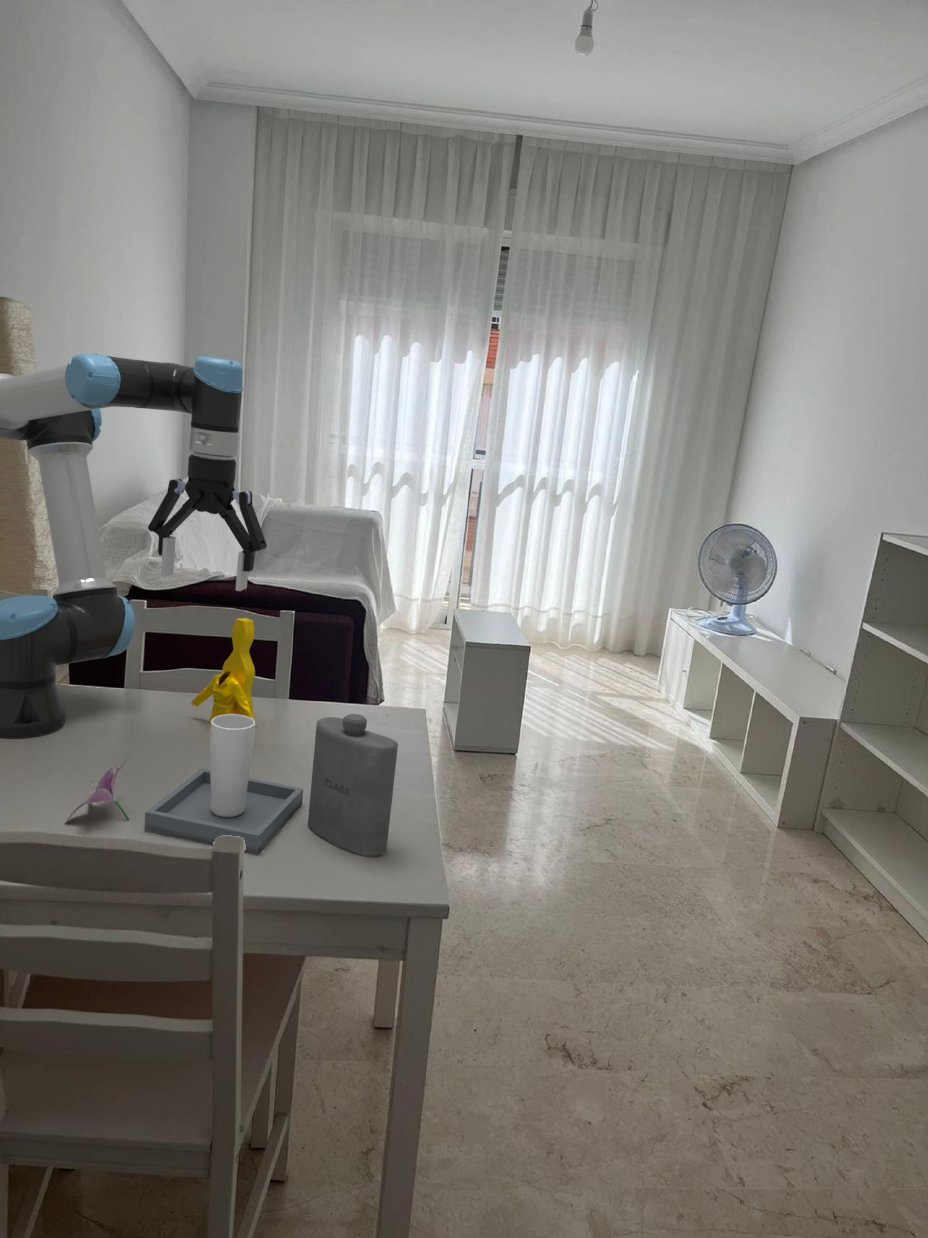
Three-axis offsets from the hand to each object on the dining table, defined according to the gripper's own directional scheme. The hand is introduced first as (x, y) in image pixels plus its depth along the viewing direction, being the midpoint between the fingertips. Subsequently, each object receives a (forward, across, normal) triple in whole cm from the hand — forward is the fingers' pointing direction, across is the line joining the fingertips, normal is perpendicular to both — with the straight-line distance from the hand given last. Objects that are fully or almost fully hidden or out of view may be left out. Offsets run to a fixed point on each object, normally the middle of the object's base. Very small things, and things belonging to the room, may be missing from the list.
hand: (203, 582), depth 155 cm
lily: (+33, -2, -24) cm, 41 cm away
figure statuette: (+33, -2, +18) cm, 38 cm away
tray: (+32, +15, -16) cm, 39 cm away
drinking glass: (+31, +15, -16) cm, 39 cm away
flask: (+32, +34, -15) cm, 49 cm away
